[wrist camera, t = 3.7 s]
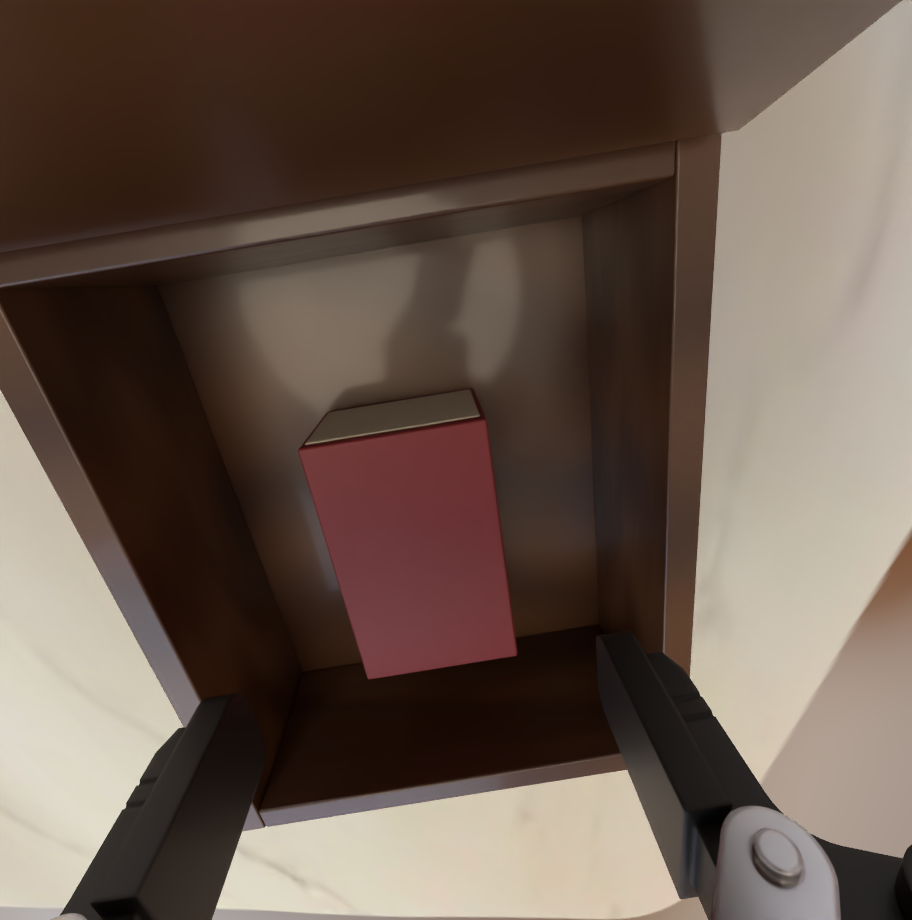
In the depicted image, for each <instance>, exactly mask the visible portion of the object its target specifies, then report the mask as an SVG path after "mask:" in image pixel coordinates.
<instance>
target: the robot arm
mask: <svg viewBox="0 0 912 920" xmlns="http://www.w3.org/2000/svg"><path fill="white" fill-rule="evenodd" d="M596 656H597V675H598V688H599V694H600V699H601V703H602V706H603V709H604V712H605V715H606V718H607V720H608V723H609V725H610V728H611V730H612V733H613V735H614V738H615V740H616V743H617V745H618V747H619V750H620V752H621V755H622V757H623V760H624V762H625V765H626V767H627V770H628V772H629V775H630V777H631V779H632V782H633V784H634V787H635V789H636V792H637V794H638V797H639V799H640V802H641V804H642V807H643V809H644V811H645V814H646V816H647V819H648V821H649V824H650V826H651V829H652V831H653V834H654V836H655V839H656V841H657V843H658V846H659V848H660V851H661V853H662V856H663V858H664V861H665V863H666V866H667V868H668V871H669V873H670V876H671V878H672V880H673V883H674V885H675V888H676V890H677V893H678V895H679V898H680V899H686V898H692V897H699V899H700V901H701V904H702V906H703V908H704V911H705V913H706V915H707V918H708V920H912V845H911V846H910V847H909V848H908V849H907V850H906V852H905V854H904V857H903V858H898V857H893V856H888V855H883V854H878V853H873V852H868V851H863V850H859V849H854V848H849V847H843V846H840V845H836V844H833V843H830V842H828V841H825V840H822V839H820V838H818V837H816V836H814V835H812V834H810V833H809V832H807V830H806V829H804V828H803V827H802V826H801V825H799V824H798V823H797V822H795V821H794V820H792V819H791V818H789V817H788V816H785V815H784V814H783V813H782V812H781V811H780V810H779V809H778V808H777V807H776V806H775V805H774V804H773V803H772V801H771V800H770V799H769V797H768V796H767V794H766V793H765V792H764V790H763V789H762V787H761V785H760V784H759V782H758V781H757V779H756V778H755V776H754V775H753V773H752V772H751V770H750V769H749V767H748V766H747V764H746V763H745V761H744V760H743V758H742V757H741V755H740V754H739V752H738V751H737V749H736V748H735V746H734V744H733V743H732V741H731V740H730V738H729V737H728V735H727V734H726V732H725V731H724V729H723V728H722V726H721V725H720V723H719V722H718V720H717V719H716V717H714V716H713V715H712V711H711V710H710V708H709V706H708V705H707V703H706V702H705V700H704V699H703V697H701V696H700V694H699V691H698V690H697V688H696V687H695V685H694V684H693V682H692V681H691V679H690V678H689V676H688V675H687V673H686V672H685V670H684V669H683V668H682V667H680V666H679V665H678V664H677V663H675V662H674V661H673V660H672V659H670V658H669V657H668V656H667V655H665V654H664V653H663V652H657V653H651V654H645V652H644V650H643V649H642V647H641V645H640V644H639V642H638V640H637V638H636V637H635V635H634V634H633V633H632V632H631V631H630V630H629V631H623V632H617V633H610V634H604V635H598V636H596ZM265 757H266V746H265V740H264V737H263V734H262V732H261V730H260V728H259V725H258V723H257V721H256V719H255V716H254V714H253V712H252V710H251V708H250V705H249V703H248V701H247V699H246V697H245V695H244V694H243V693H240V692H238V693H232V694H226V695H220V696H214V697H208V698H205V699H203V700H202V701H201V702H200V703H199V705H198V707H197V708H196V710H195V712H194V714H193V716H192V717H191V719H190V721H189V723H188V725H187V727H184V728H179V729H178V730H177V731H176V732H175V733H174V734H173V735H172V736H171V737H170V738H169V739H168V740H167V741H166V742H165V744H164V745H163V746H162V747H161V748H160V749H159V750H158V751H157V752H156V753H155V755H154V757H153V759H152V760H151V762H150V764H149V765H148V767H147V769H146V770H145V772H144V774H143V776H142V777H141V779H140V784H139V786H136V788H135V789H134V791H133V793H132V794H131V796H130V798H129V800H128V801H127V803H126V808H125V809H123V810H122V812H121V813H120V815H119V817H118V818H117V820H116V822H115V823H114V825H113V827H112V829H111V830H110V832H109V834H108V835H107V837H106V839H105V841H104V842H103V844H102V846H101V847H100V849H99V851H98V853H97V854H96V856H95V858H94V859H93V861H92V863H91V865H90V866H89V868H88V870H87V871H86V873H85V875H84V876H83V878H82V880H81V882H80V883H79V885H78V887H77V888H76V890H75V892H74V894H73V895H72V897H71V899H70V900H69V902H68V904H67V905H66V907H65V908H64V910H63V912H62V913H61V914H60V916H58V917H56V918H54V919H52V920H212V917H213V914H214V911H215V908H216V905H217V902H218V900H219V897H220V894H221V891H222V888H223V885H224V882H225V879H226V876H227V873H228V870H229V868H230V865H231V862H232V859H233V856H234V853H235V850H236V847H237V844H238V841H239V838H240V836H241V833H242V830H243V827H244V824H245V821H246V818H247V815H248V812H249V809H250V806H251V804H252V801H253V798H254V795H255V792H256V789H257V786H258V783H259V780H260V777H261V774H262V772H263V768H264V764H265Z"/></svg>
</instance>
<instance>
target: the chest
mask: <svg viewBox="0 0 912 920" xmlns="http://www.w3.org/2000/svg"><path fill="white" fill-rule="evenodd" d="M721 135H722V133H718V134H712V135H706V136H700V137H694V138H688V139H682V140H675V141H669V142H663V143H657V144H651V145H645V146H639V147H633V148H627V149H621V150H615V151H609V152H603V153H597V154H591V155H585V156H579V157H573V158H567V159H561V160H555V161H549V162H543V163H537V164H531V165H525V166H519V167H513V168H507V169H501V170H495V171H489V172H483V173H477V174H471V175H465V176H459V177H453V178H447V179H441V180H435V181H429V182H423V183H416V184H410V185H404V186H398V187H392V188H386V189H380V190H374V191H368V192H362V193H356V194H350V195H344V196H338V197H332V198H326V199H320V200H314V201H308V202H302V203H296V204H290V205H284V206H278V207H272V208H266V209H260V210H254V211H248V212H242V213H236V214H230V215H224V216H218V217H212V218H206V219H200V220H194V221H188V222H182V223H176V224H170V225H164V226H157V227H151V228H145V229H139V230H133V231H127V232H121V233H115V234H109V235H103V236H97V237H91V238H85V239H79V240H73V241H67V242H61V243H55V244H49V245H43V246H37V247H31V248H25V249H19V250H13V251H7V252H1V253H0V389H1V391H2V393H3V395H4V397H5V399H6V400H7V402H8V404H9V406H10V408H11V410H12V411H13V413H14V415H15V417H16V419H17V421H18V423H19V424H20V426H21V428H22V430H23V432H24V434H25V435H26V437H27V439H28V441H29V443H30V445H31V446H32V448H33V450H34V452H35V454H36V456H37V457H38V459H39V461H40V463H41V465H42V467H43V469H44V470H45V472H46V474H47V476H48V478H49V480H50V481H51V483H52V485H53V487H54V489H55V491H56V492H57V494H58V496H59V498H60V500H61V502H62V503H63V505H64V507H65V509H66V511H67V513H68V515H69V516H70V518H71V520H72V522H73V524H74V526H75V527H76V529H77V531H78V533H79V535H80V537H81V538H82V540H83V542H84V544H85V546H86V548H87V549H88V551H89V553H90V555H91V557H92V559H93V561H94V562H95V564H96V566H97V568H98V570H99V572H100V573H101V575H102V577H103V579H104V581H105V583H106V584H107V586H108V588H109V590H110V592H111V594H112V595H113V597H114V599H115V601H116V603H117V605H118V607H119V608H120V610H121V612H122V614H123V616H124V618H125V619H126V621H127V623H128V625H129V627H130V629H131V630H132V632H133V634H134V636H135V638H136V640H137V641H138V643H139V645H140V647H141V649H142V651H143V653H144V654H145V656H146V658H147V660H148V662H149V664H150V665H151V667H152V669H153V671H154V673H155V675H156V676H157V678H158V680H159V682H160V684H161V686H162V687H163V689H164V691H165V693H166V695H167V697H168V699H169V700H170V702H171V704H172V706H173V708H174V710H175V711H176V713H177V715H178V717H179V719H180V721H181V722H182V724H183V726H184V727H187V725H188V723H189V721H190V719H191V717H192V716H193V714H194V712H195V710H196V708H197V707H198V705H199V703H200V702H201V701H202V700H203V699H205V698H208V697H214V696H220V695H226V694H232V693H238V692H240V693H243V694H244V695H245V697H246V699H247V701H248V703H249V705H250V708H251V710H252V712H253V714H254V716H255V719H256V721H257V723H258V725H259V728H260V730H261V732H262V734H263V737H264V740H265V746H266V757H265V764H264V768H263V772H262V774H261V777H260V780H259V783H258V786H257V789H256V792H255V795H254V798H253V801H252V804H251V806H250V809H249V812H248V815H247V818H246V821H245V824H244V827H243V830H242V831H247V830H253V829H259V828H264V827H265V826H268V827H269V826H275V825H282V824H288V823H294V822H300V821H307V820H313V819H319V818H326V817H332V816H338V815H344V814H351V813H357V812H363V811H370V810H376V809H382V808H388V807H395V806H401V805H407V804H414V803H420V802H426V801H433V800H439V799H445V798H451V797H458V796H464V795H470V794H477V793H483V792H489V791H495V790H502V789H508V788H514V787H521V786H527V785H533V784H540V783H546V782H552V781H558V780H565V779H571V778H577V777H584V776H590V775H596V774H602V773H609V772H615V771H621V770H627V767H626V765H625V762H624V760H623V757H622V755H621V752H620V750H619V747H618V745H617V743H616V740H615V738H614V735H613V733H612V730H611V728H610V725H609V723H608V720H607V718H606V715H605V712H604V709H603V706H602V703H601V699H600V694H599V688H598V675H597V656H596V636H598V635H604V634H610V633H617V632H623V631H629V630H630V631H631V632H632V633H633V634H634V635H635V637H636V638H637V640H638V642H639V644H640V645H641V647H642V649H643V650H644V652H645V654H651V653H657V652H663V653H664V654H665V655H667V656H668V657H669V658H670V659H672V660H673V661H674V662H675V663H677V664H678V665H679V666H680V667H682V668H683V669H684V670H685V672H686V673H687V675H688V676H689V678H690V663H691V646H692V629H693V612H694V595H695V577H696V560H697V543H698V526H699V509H700V492H701V475H702V458H703V441H704V424H705V407H706V390H707V373H708V356H709V339H710V322H711V305H712V288H713V271H714V254H715V237H716V220H717V203H718V186H719V169H720V152H721ZM471 388H472V389H474V390H475V393H476V395H477V398H478V400H479V402H480V405H481V407H482V410H483V412H484V415H485V417H486V419H487V424H488V432H489V439H490V447H491V454H492V462H493V469H494V477H495V485H496V492H497V500H498V507H499V515H500V523H501V530H502V538H503V545H504V553H505V560H506V568H507V576H508V583H509V591H510V598H511V606H512V613H513V621H514V629H515V636H516V644H517V651H518V653H517V656H512V657H506V658H500V659H494V660H488V661H481V662H475V663H469V664H463V665H456V666H450V667H444V668H438V669H431V670H425V671H419V672H413V673H407V674H400V675H394V676H388V677H382V678H375V679H368V678H367V675H366V672H365V669H364V666H363V662H362V659H361V656H360V652H359V649H358V646H357V643H356V639H355V636H354V633H353V630H352V626H351V623H350V620H349V617H348V613H347V610H346V607H345V603H344V600H343V597H342V594H341V590H340V587H339V584H338V581H337V577H336V574H335V571H334V567H333V564H332V561H331V558H330V554H329V551H328V548H327V545H326V541H325V538H324V535H323V532H322V528H321V525H320V522H319V518H318V515H317V512H316V509H315V505H314V502H313V499H312V496H311V492H310V489H309V486H308V482H307V479H306V476H305V473H304V469H303V466H302V463H301V460H300V456H299V453H298V449H299V448H300V446H301V445H302V444H303V443H304V441H305V440H306V439H307V437H308V436H309V435H310V434H311V432H312V431H313V430H314V428H315V427H316V426H317V424H318V423H319V422H320V421H321V419H322V418H323V417H324V415H325V414H326V413H327V412H330V411H337V410H343V409H349V408H355V407H361V406H367V405H373V404H379V403H385V402H392V401H398V400H404V399H410V398H416V397H422V396H428V395H434V394H441V393H447V392H453V391H459V390H465V389H471Z"/></svg>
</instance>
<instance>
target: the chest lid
mask: <svg viewBox="0 0 912 920" xmlns="http://www.w3.org/2000/svg"><path fill="white" fill-rule="evenodd" d="M901 1H902V0H0V253H1V252H7V251H13V250H19V249H25V248H31V247H37V246H43V245H49V244H55V243H61V242H67V241H73V240H79V239H85V238H91V237H97V236H103V235H109V234H115V233H121V232H127V231H133V230H139V229H145V228H151V227H157V226H164V225H170V224H176V223H182V222H188V221H194V220H200V219H206V218H212V217H218V216H224V215H230V214H236V213H242V212H248V211H254V210H260V209H266V208H272V207H278V206H284V205H290V204H296V203H302V202H308V201H314V200H320V199H326V198H332V197H338V196H344V195H350V194H356V193H362V192H368V191H374V190H380V189H386V188H392V187H398V186H404V185H410V184H416V183H423V182H429V181H435V180H441V179H447V178H453V177H459V176H465V175H471V174H477V173H483V172H489V171H495V170H501V169H507V168H513V167H519V166H525V165H531V164H537V163H543V162H549V161H555V160H561V159H567V158H573V157H579V156H585V155H591V154H597V153H603V152H609V151H615V150H621V149H627V148H633V147H639V146H645V145H651V144H657V143H663V142H669V141H675V140H682V139H688V138H694V137H700V136H706V135H712V134H718V133H724V132H730V131H736V130H739V129H741V128H742V127H743V126H745V125H746V124H747V123H748V122H750V121H751V120H752V119H753V118H755V117H756V116H757V115H758V114H760V113H761V112H762V111H763V110H765V109H766V108H767V107H769V106H770V105H771V104H772V103H774V102H775V101H776V100H777V99H779V98H780V97H781V96H782V95H784V94H785V93H786V92H787V91H789V90H790V89H791V88H792V87H794V86H795V85H796V84H797V83H799V82H800V81H801V80H803V79H804V78H805V77H806V76H808V75H809V74H810V73H811V72H813V71H814V70H815V69H816V68H818V67H819V66H820V65H821V64H823V63H824V62H825V61H826V60H828V59H829V58H830V57H831V56H833V55H834V54H835V53H836V52H838V51H839V50H840V49H842V48H843V47H844V46H845V45H847V44H848V43H849V42H850V41H852V40H853V39H854V38H855V37H857V36H858V35H859V34H860V33H862V32H863V31H864V30H865V29H867V28H868V27H869V26H870V25H872V24H873V23H874V22H876V21H877V20H878V19H879V18H881V17H882V16H883V15H884V14H886V13H887V12H888V11H889V10H891V9H892V8H893V7H894V6H896V5H897V4H898V3H899V2H901Z"/></svg>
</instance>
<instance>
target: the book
mask: <svg viewBox="0 0 912 920" xmlns="http://www.w3.org/2000/svg"><path fill="white" fill-rule="evenodd" d="M298 453H299V456H300V460H301V463H302V466H303V469H304V473H305V476H306V479H307V482H308V486H309V489H310V492H311V496H312V499H313V502H314V505H315V509H316V512H317V515H318V518H319V522H320V525H321V528H322V532H323V535H324V538H325V541H326V545H327V548H328V551H329V554H330V558H331V561H332V564H333V567H334V571H335V574H336V577H337V581H338V584H339V587H340V590H341V594H342V597H343V600H344V603H345V607H346V610H347V613H348V617H349V620H350V623H351V626H352V630H353V633H354V636H355V639H356V643H357V646H358V649H359V652H360V656H361V659H362V662H363V666H364V669H365V672H366V675H367V678H368V679H375V678H382V677H388V676H394V675H400V674H407V673H413V672H419V671H425V670H431V669H438V668H444V667H450V666H456V665H463V664H469V663H475V662H481V661H488V660H494V659H500V658H506V657H512V656H517V653H518V651H517V644H516V636H515V629H514V621H513V613H512V606H511V598H510V591H509V583H508V576H507V568H506V560H505V553H504V545H503V538H502V530H501V523H500V515H499V507H498V500H497V492H496V485H495V477H494V469H493V462H492V454H491V447H490V439H489V432H488V424H487V419H486V417H485V415H484V412H483V410H482V407H481V405H480V402H479V400H478V398H477V395H476V393H475V390H474V389H472V388H471V389H465V390H459V391H453V392H447V393H441V394H434V395H428V396H422V397H416V398H410V399H404V400H398V401H392V402H385V403H379V404H373V405H367V406H361V407H355V408H349V409H343V410H337V411H330V412H327V413H326V414H325V415H324V417H323V418H322V419H321V421H320V422H319V423H318V424H317V426H316V427H315V428H314V430H313V431H312V432H311V434H310V435H309V436H308V437H307V439H306V440H305V441H304V443H303V444H302V445H301V446H300V448H299V449H298Z"/></svg>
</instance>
